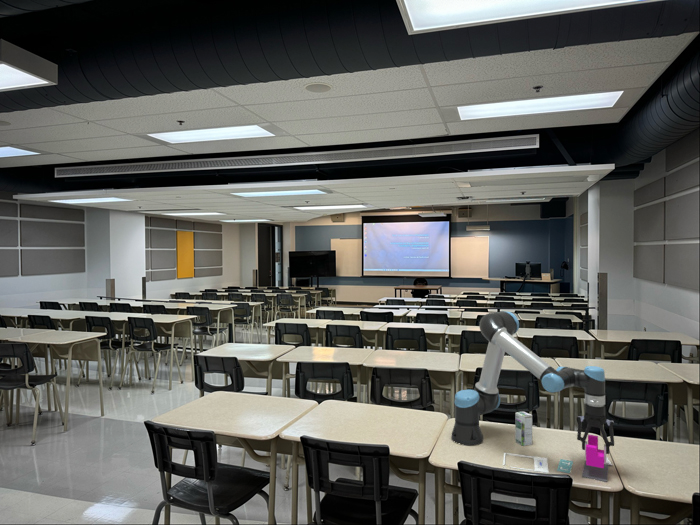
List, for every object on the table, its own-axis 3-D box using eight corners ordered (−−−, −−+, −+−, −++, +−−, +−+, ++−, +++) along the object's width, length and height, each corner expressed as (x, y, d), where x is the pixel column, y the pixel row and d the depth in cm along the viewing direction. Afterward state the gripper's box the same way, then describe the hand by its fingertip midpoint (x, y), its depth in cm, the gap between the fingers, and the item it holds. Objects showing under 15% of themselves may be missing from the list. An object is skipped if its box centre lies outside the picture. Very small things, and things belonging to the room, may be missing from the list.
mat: (581, 476, 188) (581, 476, 188) (585, 461, 203) (585, 460, 203) (607, 482, 184) (607, 481, 184) (608, 465, 198) (608, 464, 198)
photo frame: (548, 472, 192) (502, 465, 198) (548, 474, 192) (502, 468, 198) (546, 457, 205) (504, 452, 212) (546, 460, 205) (504, 454, 212)
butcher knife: (603, 452, 212) (603, 449, 212) (612, 465, 198) (612, 463, 198) (591, 450, 213) (591, 448, 213) (599, 463, 199) (599, 461, 199)
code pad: (556, 470, 194) (556, 470, 194) (560, 459, 205) (560, 458, 205) (569, 473, 192) (569, 473, 192) (573, 461, 203) (573, 461, 203)
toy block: (603, 468, 185) (603, 449, 185) (586, 465, 188) (586, 446, 188) (604, 454, 198) (604, 437, 198) (588, 451, 201) (588, 434, 201)
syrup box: (514, 442, 225) (514, 412, 225) (524, 440, 227) (524, 410, 227) (522, 446, 220) (522, 416, 220) (532, 444, 222) (532, 414, 222)
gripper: (568, 403, 195) (569, 457, 195) (621, 410, 185) (622, 467, 185) (570, 398, 201) (571, 451, 202) (621, 405, 192) (622, 460, 192)
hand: (595, 459), depth 193 cm, fingers closed on toy block, 6 cm apart
